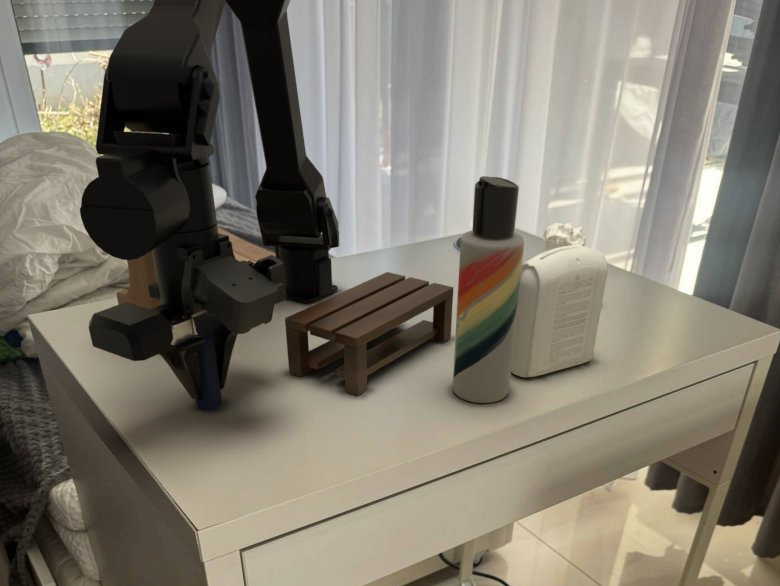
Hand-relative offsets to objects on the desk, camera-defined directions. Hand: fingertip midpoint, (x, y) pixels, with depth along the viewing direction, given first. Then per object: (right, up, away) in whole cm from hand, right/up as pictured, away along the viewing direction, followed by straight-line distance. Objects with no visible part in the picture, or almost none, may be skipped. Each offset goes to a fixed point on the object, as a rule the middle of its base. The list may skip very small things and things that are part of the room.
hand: (207, 393), depth 74 cm
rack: (+16, +6, +11) cm, 20 cm away
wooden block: (-9, +9, +14) cm, 19 cm away
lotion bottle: (+27, +1, +4) cm, 27 cm away
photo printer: (+35, +5, +10) cm, 36 cm away
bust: (+39, +15, +23) cm, 47 cm away
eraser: (0, -1, +1) cm, 1 cm away
